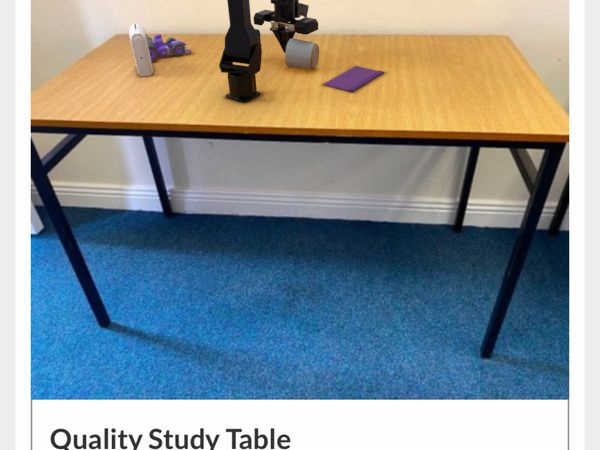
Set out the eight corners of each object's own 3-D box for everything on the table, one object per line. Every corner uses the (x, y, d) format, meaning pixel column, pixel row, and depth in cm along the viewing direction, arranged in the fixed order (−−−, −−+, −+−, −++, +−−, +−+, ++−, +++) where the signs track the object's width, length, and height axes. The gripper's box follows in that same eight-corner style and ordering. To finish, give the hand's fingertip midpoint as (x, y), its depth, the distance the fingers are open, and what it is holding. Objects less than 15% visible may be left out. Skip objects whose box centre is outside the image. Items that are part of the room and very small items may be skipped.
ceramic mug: (313, 74, 129) (313, 45, 125) (284, 70, 131) (284, 42, 126) (322, 61, 137) (323, 34, 133) (295, 58, 139) (295, 31, 134)
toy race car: (193, 54, 145) (189, 32, 141) (144, 64, 139) (139, 41, 135) (182, 46, 151) (179, 25, 147) (136, 55, 146) (130, 33, 142)
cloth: (352, 92, 119) (352, 90, 118) (323, 85, 123) (323, 83, 123) (384, 73, 129) (384, 71, 128) (355, 67, 133) (355, 65, 133)
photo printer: (154, 75, 131) (144, 29, 124) (138, 77, 131) (127, 31, 123) (152, 63, 139) (142, 19, 132) (137, 65, 138) (126, 21, 131)
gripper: (330, -8, 126) (329, 51, 136) (275, -17, 135) (278, 39, 145) (305, 1, 119) (306, 62, 129) (250, -8, 128) (254, 50, 138)
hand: (286, 53), depth 136 cm, fingers closed
